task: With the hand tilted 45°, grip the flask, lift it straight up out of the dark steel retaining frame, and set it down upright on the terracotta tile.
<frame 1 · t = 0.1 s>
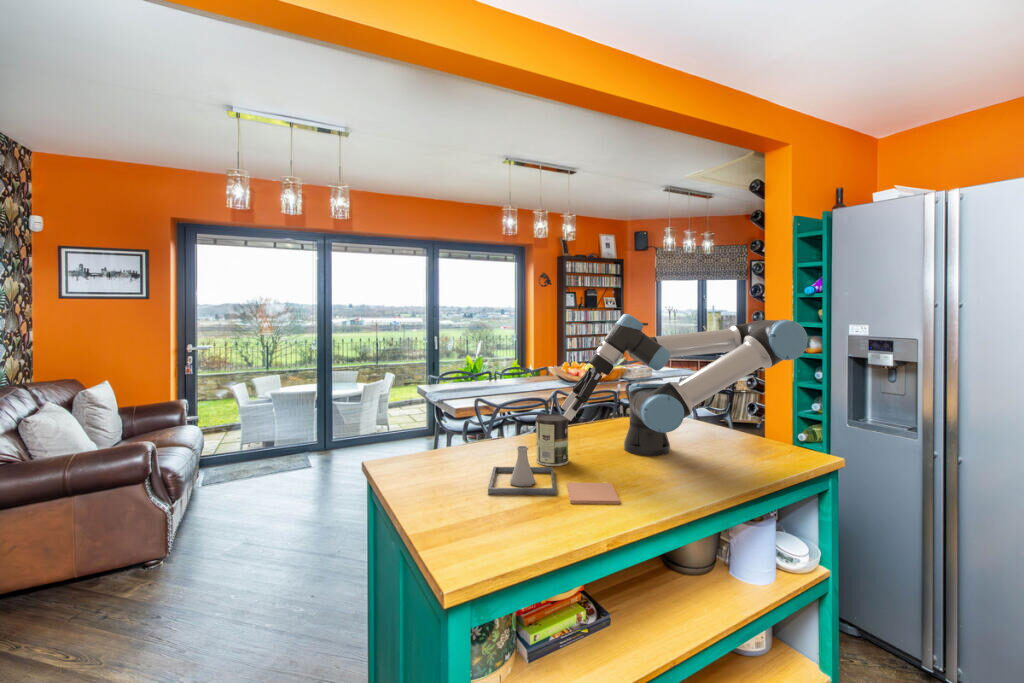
hand: (565, 413, 143), 15 cm above the counter, tool tilted 35°, fingers open, 13 cm apart
flask: (522, 483, 126), resting in steel frame
terracotta tile: (591, 494, 117), on the counter
coffee can: (552, 461, 145), on the counter
steel frame: (522, 482, 126), on the counter
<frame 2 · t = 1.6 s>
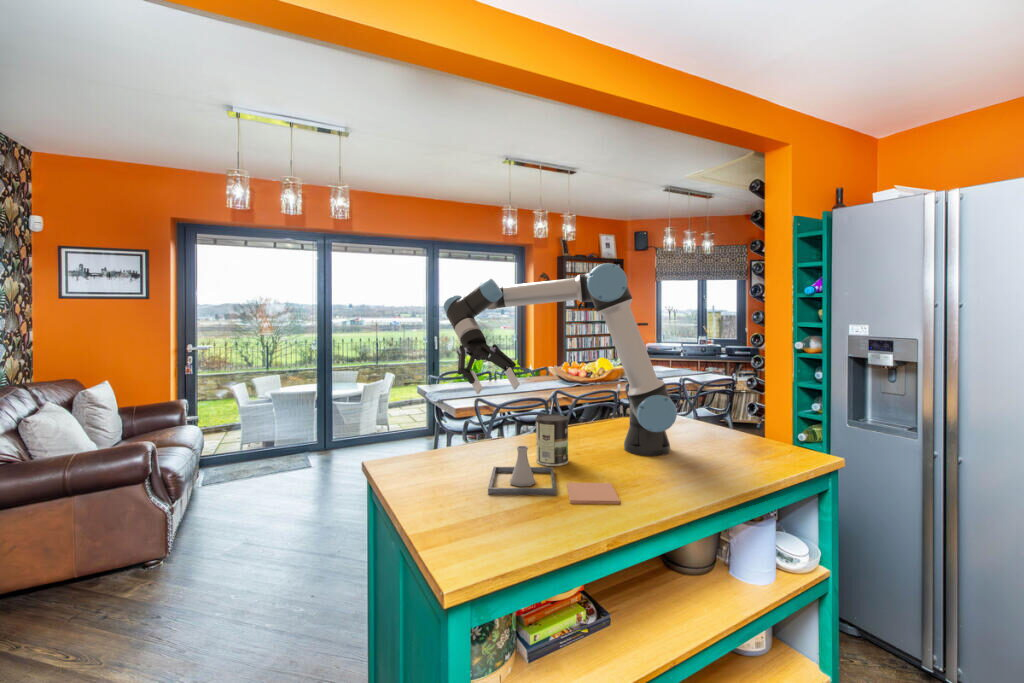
hand: (499, 389, 133), 25 cm above the counter, tool tilted 45°, fingers open, 13 cm apart
nothing on the counter moved.
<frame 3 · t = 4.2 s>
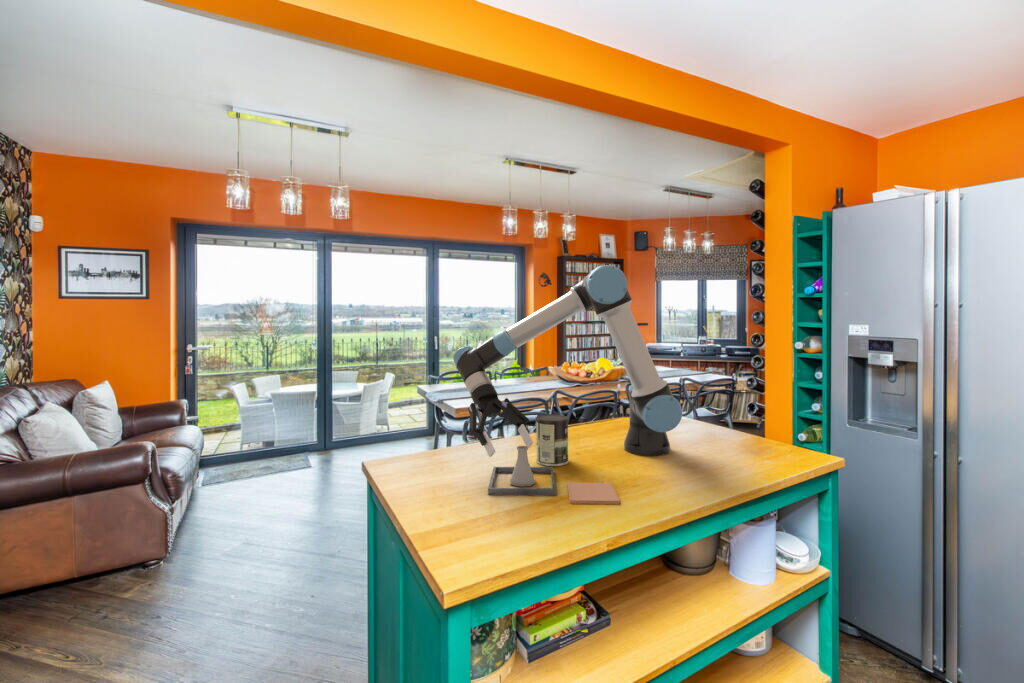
hand: (512, 449, 128), 9 cm above the counter, tool tilted 45°, fingers open, 13 cm apart
nothing on the counter moved.
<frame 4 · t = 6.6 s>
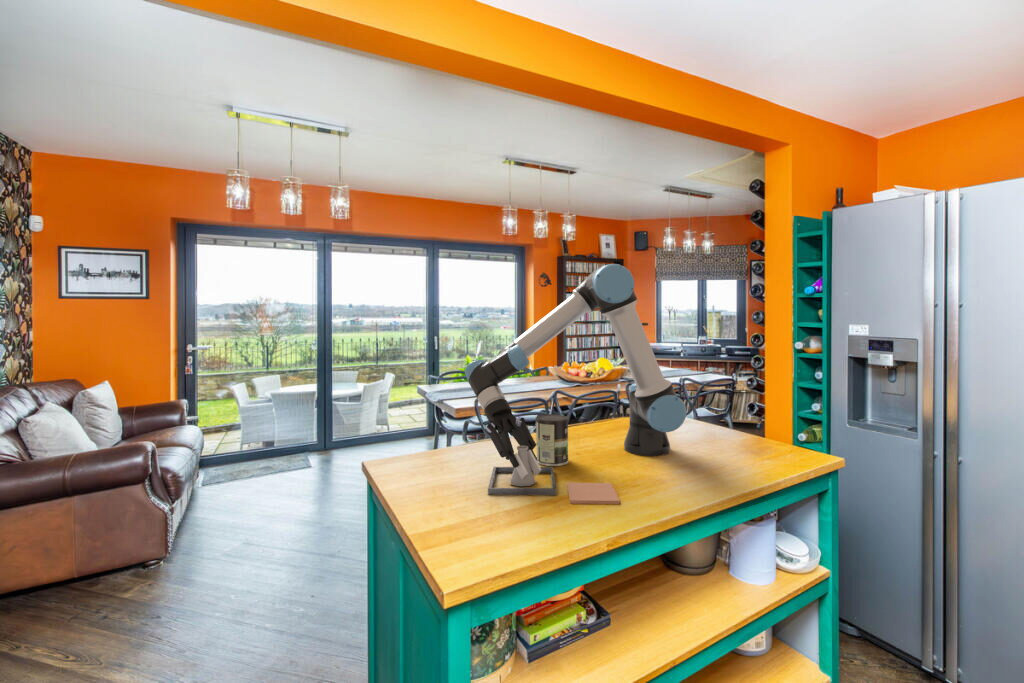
hand: (531, 474, 123), 3 cm above the counter, tool tilted 45°, fingers closed on flask, 4 cm apart
flask: (522, 483, 126), resting in steel frame, touching gripper
everything else where it was.
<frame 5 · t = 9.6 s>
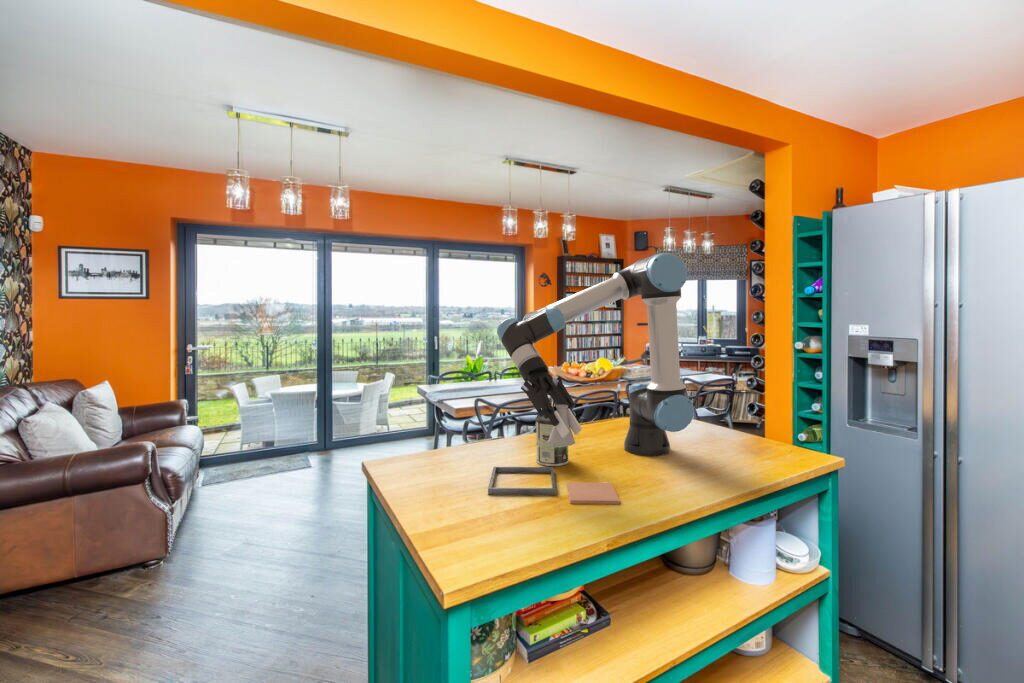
hand: (572, 433, 116), 16 cm above the counter, tool tilted 45°, fingers closed on flask, 4 cm apart
flask: (561, 444, 119), point 12 cm above the counter, touching gripper
everything else where it was.
when the fingers open (5 cm above the counter, at t = 12.9 s): flask drops 1 cm, resting on terracotta tile.
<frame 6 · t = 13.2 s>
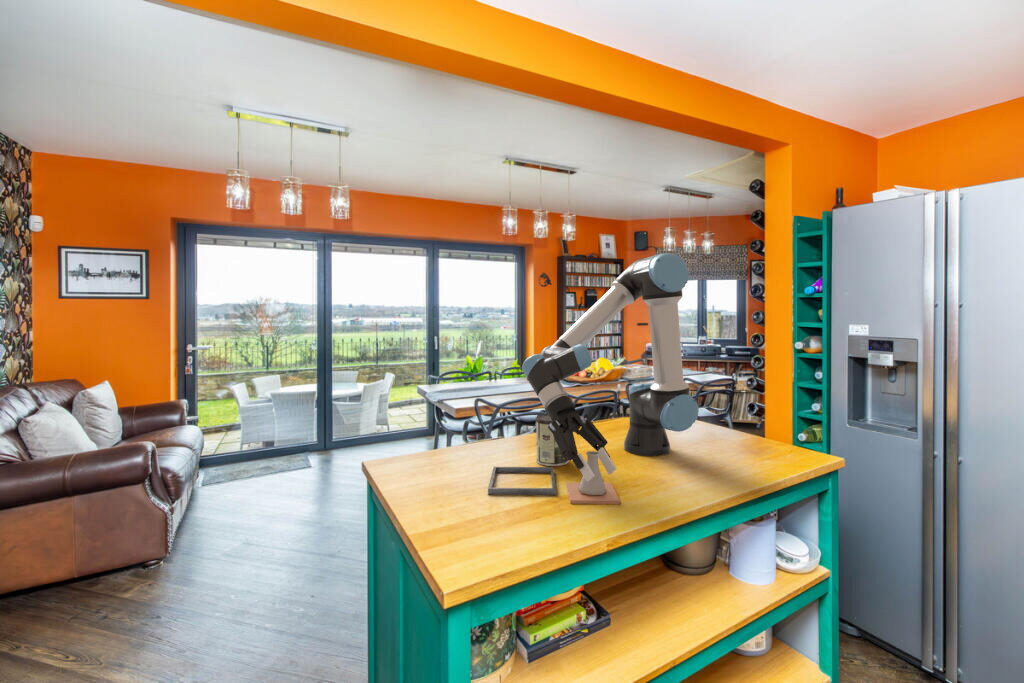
hand: (602, 475, 114), 6 cm above the counter, tool tilted 45°, fingers open, 8 cm apart
flask: (592, 491, 117), point 1 cm above the counter, touching terracotta tile
everything else where it was.
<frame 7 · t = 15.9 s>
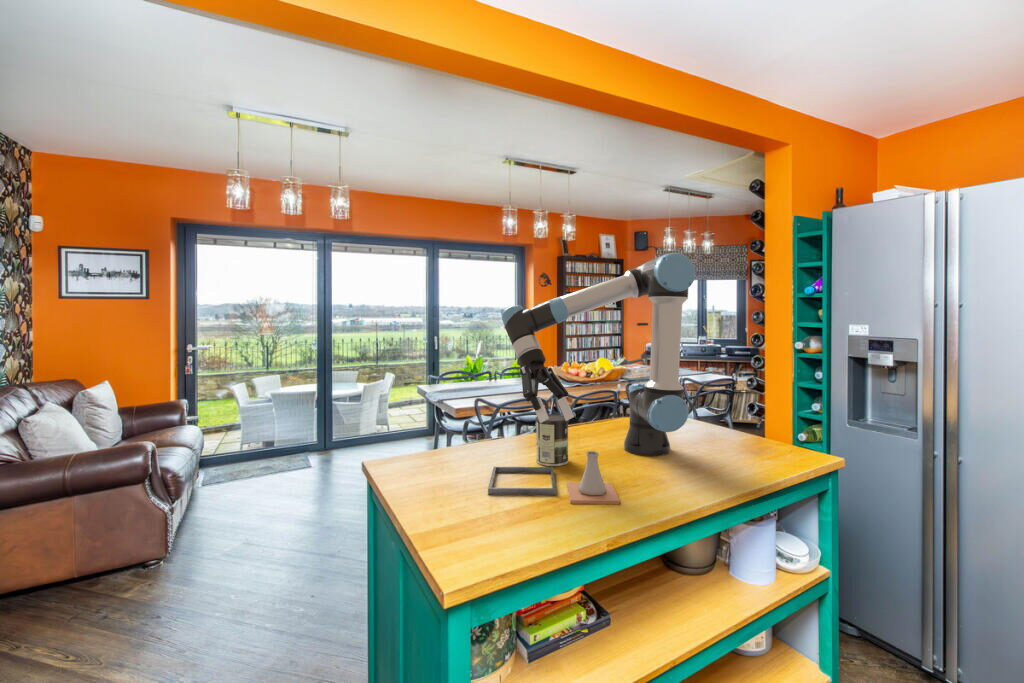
hand: (557, 419, 127), 17 cm above the counter, tool tilted 35°, fingers open, 13 cm apart
nothing on the counter moved.
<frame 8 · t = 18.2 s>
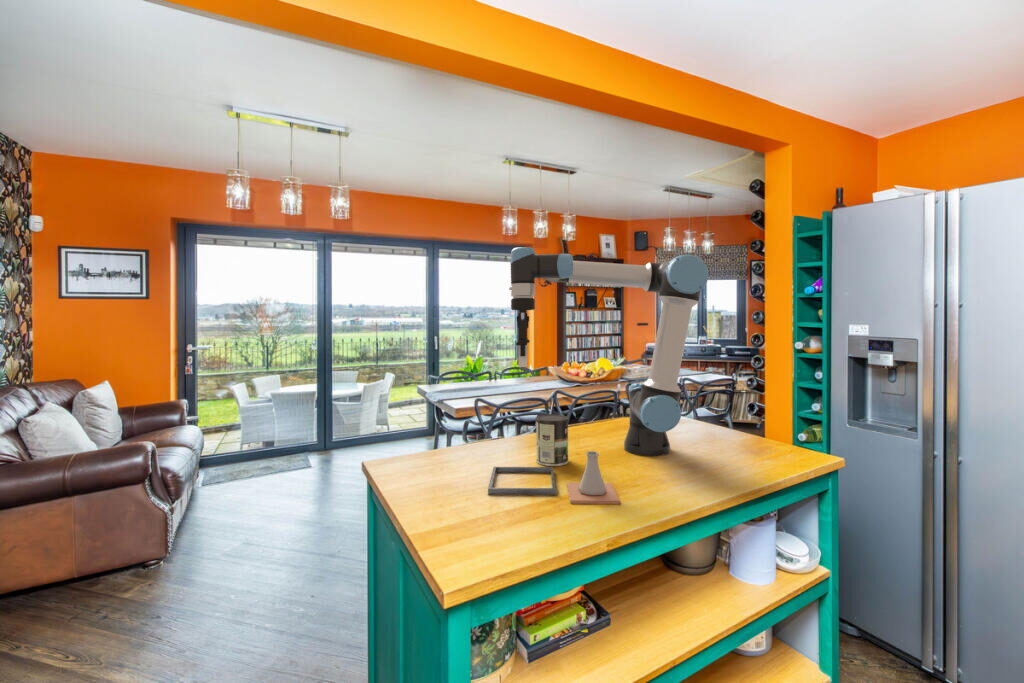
hand: (523, 364, 144), 31 cm above the counter, tool pointing down, fingers open, 13 cm apart
nothing on the counter moved.
at the end: flask inside the target area on the terracotta tile (0.1 cm from its centre), point 0.6 cm above the terracotta tile's base; flask tilted 0°; the gripper is holding nothing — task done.
